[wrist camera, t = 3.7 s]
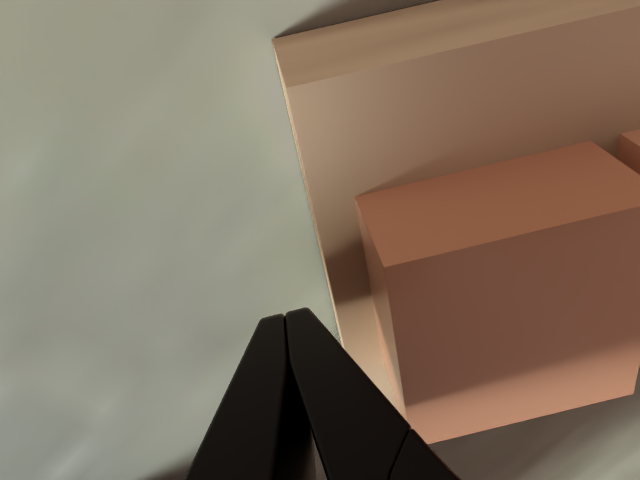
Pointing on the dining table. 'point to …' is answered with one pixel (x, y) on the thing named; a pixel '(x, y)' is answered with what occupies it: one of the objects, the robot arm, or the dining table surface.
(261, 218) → the dining table surface
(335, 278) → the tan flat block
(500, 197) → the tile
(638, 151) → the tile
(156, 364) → the dining table surface
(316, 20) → the dining table surface
